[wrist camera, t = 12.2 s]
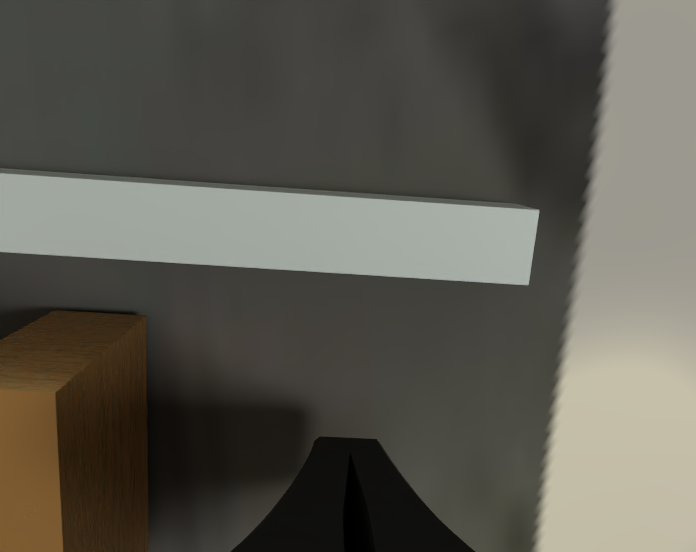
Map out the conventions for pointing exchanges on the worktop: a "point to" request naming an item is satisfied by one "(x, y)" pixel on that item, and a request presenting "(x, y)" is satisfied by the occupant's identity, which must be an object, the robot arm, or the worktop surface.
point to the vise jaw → (74, 434)
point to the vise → (265, 227)
